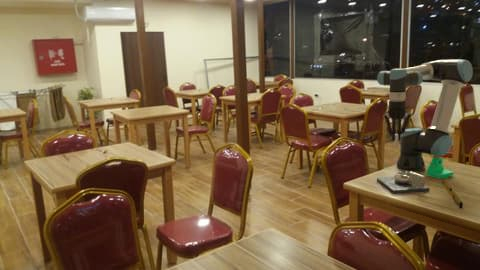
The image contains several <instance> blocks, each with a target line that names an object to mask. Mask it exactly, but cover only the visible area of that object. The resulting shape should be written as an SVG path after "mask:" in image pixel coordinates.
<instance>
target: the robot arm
mask: <svg viewBox="0 0 480 270" xmlns="http://www.w3.org/2000/svg"><path fill="white" fill-rule="evenodd" d="M473 71H474V69H473V66H472V63H471V61H469V60H467V59H461V58H459V59H437V60H433V61H429V62H428V61H427V62H424V63H421V64H420V65H417V66H413V67H412V66H411V67H407V68H392V69H390V70H382V71H379V72H378V74H377V77H376V78H377V82H378V84H379V85H380V86H385V87H386V86H389V92H388V93H389V94H388V95H389V96H388V99H389V101H388V110H387V113H385V114H382V117H383V118H384V120H385V124H386V129H387V133H388V134H390V135H391V141H392V142H393V148H395V149H397V148H399V142H400V149H399V150H400V152H399V157H398V158H397V161H396V168H397V169H399V170H402V171H405V172H421V171H424V170H425V168H426V164H425V161H424V160H425V159H424V157H423V154H427V155H431V156H433V157H442V156H445V155H447V154H448V153H449V151H450V150H451V147H452V142H453V139H452V137H451V136H450V134H451V133H450V132H449V127H450V124H451V120H452V117H453V113H454V110H455V106H456V103H457V100H458V97H459V93H460V90H461V89H462V88H464V87H465V83H467V82H470V81H471V80H472V78H473ZM429 80H431V81H440V82H441V83H440V84H442V87H441V90H440V94H439V97H438V101H437V104H436V108H435V110H434V114H433V117H432V120H431V122H430V123H431V124H430V126H428V127H427V128H426V129H425V131H424V128H421V127H415V128H414V127H412V128H407V126H408V122H409V119H410V118H411V116H412V115H411V114H410V113H408V112H407V110H406V98H407V97H406V96H407V93H406V92H407V88H410V87H411V88H412V87H414V88H415V87H417V86H420V85H421V84H422V83H423V81H429ZM403 118H404V119H403ZM390 119H391V122H390ZM402 120H403V122H402ZM390 123H391V124H390Z"/></svg>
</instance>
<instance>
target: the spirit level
mask: <svg viewBox="0 0 480 270" xmlns="http://www.w3.org/2000/svg"><path fill="white" fill-rule="evenodd" d="M441 184H442V185H443V187H444V188H445V190H446V191H447V193H448V194H449V195H450V196H451V198H452V200H453V201H454V203H455V204H456V205H457V207H458V209H463V207H464V202H463V201H462V200H461V199H460V197H459V196H458V194H457V193H456V192H455V190H453V187H452V186H451V185H450V183H449V182H448V181H447V178H442V179H441Z"/></svg>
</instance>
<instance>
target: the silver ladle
mask: <svg viewBox="0 0 480 270" xmlns="http://www.w3.org/2000/svg"><path fill="white" fill-rule="evenodd" d="M408 172H409V174H398V173H397V174H394V176H395V181H396V182H398V183H409V184H411V185H414V186H417V187H419V188H424V185H426V184H425V181H426V176H425V175H423V174H419V173H417V172H415V171H408Z"/></svg>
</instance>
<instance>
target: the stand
mask: <svg viewBox="0 0 480 270" xmlns="http://www.w3.org/2000/svg"><path fill="white" fill-rule="evenodd" d="M409 172H410V171H402V172H398V173H397V174H409ZM376 182H378V184H380V185H381V186H382V187H383V188H385V189H386V190H388V191H389V192H390V193H391V194H392V195H402V194H403V195H405V194H416V193H419V194H420V193H429V192H430V189H431V188H430V187H429V186H427V185H426V184H424V188H419V187H417V186H414V185H411V184H409V183H398V182H396V181H395V175H394V176H382V177H381V176H380V177H376Z"/></svg>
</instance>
